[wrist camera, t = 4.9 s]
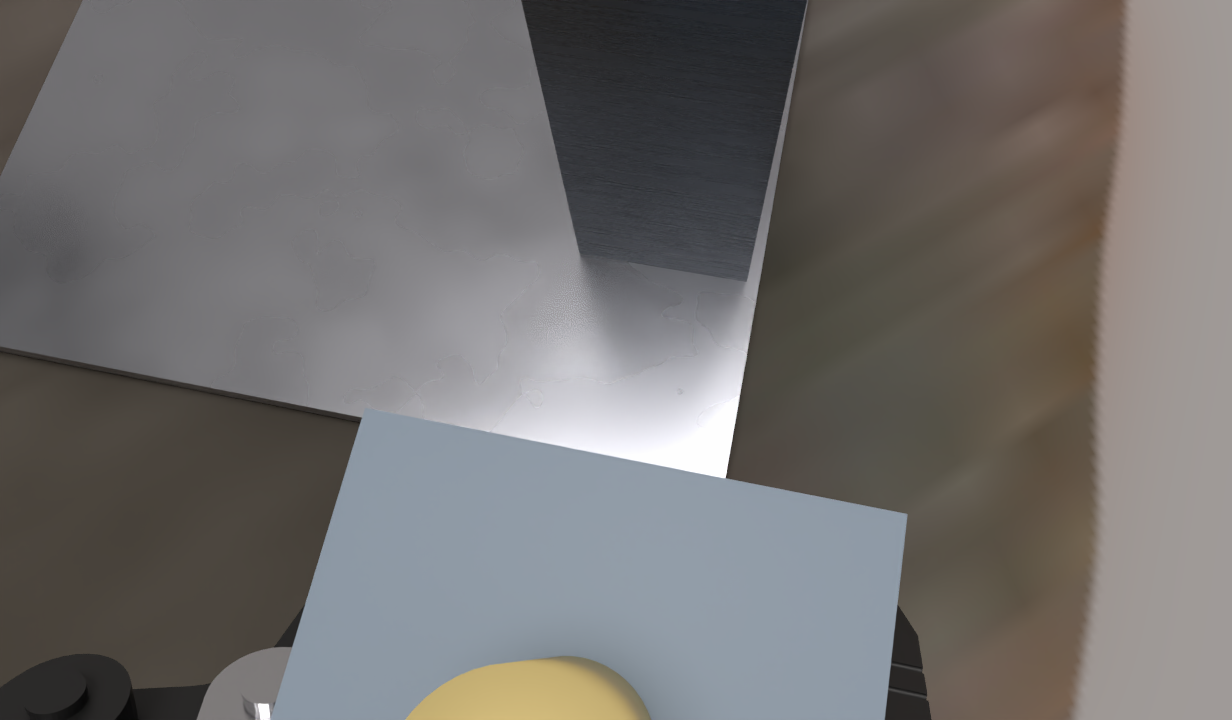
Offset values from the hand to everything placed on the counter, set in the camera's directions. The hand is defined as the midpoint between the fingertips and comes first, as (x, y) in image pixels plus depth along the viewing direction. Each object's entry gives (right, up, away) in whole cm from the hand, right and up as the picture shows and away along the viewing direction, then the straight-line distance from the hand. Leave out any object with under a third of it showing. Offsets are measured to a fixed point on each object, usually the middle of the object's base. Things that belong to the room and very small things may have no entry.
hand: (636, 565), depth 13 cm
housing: (0, -3, +4) cm, 5 cm away
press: (-5, +7, +7) cm, 12 cm away
